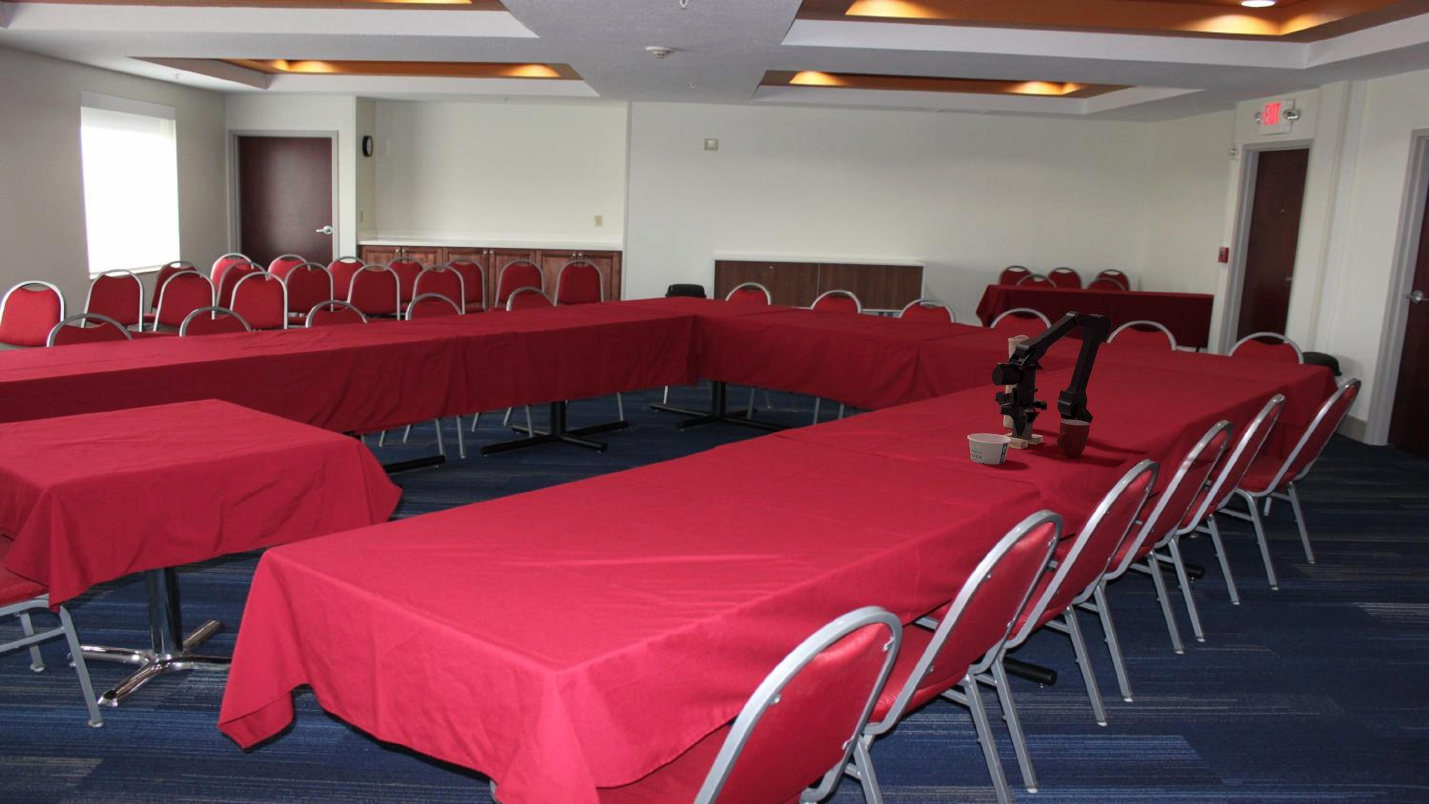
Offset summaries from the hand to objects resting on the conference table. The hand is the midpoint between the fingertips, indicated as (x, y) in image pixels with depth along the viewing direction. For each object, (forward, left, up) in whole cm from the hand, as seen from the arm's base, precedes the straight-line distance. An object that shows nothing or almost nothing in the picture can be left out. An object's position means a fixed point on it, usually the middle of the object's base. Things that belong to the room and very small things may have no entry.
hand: (1021, 435), depth 323 cm
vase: (-21, -13, -3) cm, 25 cm away
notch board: (0, -1, -3) cm, 3 cm away
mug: (+5, +18, -3) cm, 19 cm away
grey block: (0, 0, -1) cm, 1 cm away
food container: (+27, +4, -3) cm, 27 cm away
